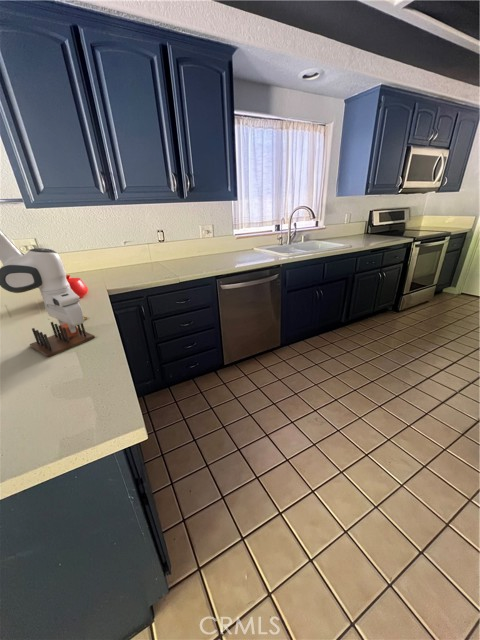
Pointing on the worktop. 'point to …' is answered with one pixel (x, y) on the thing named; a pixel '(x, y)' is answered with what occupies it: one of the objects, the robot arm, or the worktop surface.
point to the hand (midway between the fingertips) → (69, 330)
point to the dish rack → (58, 340)
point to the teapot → (77, 286)
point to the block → (68, 330)
